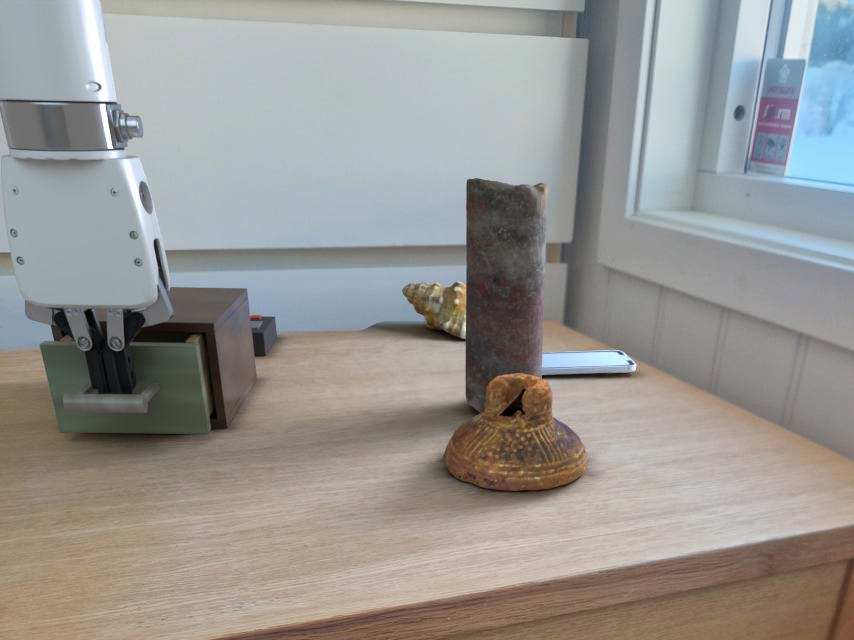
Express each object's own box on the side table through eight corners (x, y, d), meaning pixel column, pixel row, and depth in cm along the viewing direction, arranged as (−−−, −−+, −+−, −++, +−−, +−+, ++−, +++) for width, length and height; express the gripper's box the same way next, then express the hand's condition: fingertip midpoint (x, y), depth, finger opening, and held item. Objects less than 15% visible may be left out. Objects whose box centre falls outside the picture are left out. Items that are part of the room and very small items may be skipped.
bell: (616, 471, 72) (626, 382, 68) (509, 507, 65) (513, 410, 62) (518, 434, 80) (522, 352, 76) (413, 462, 73) (411, 374, 69)
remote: (265, 356, 101) (263, 329, 99) (228, 355, 100) (225, 329, 99) (277, 338, 108) (274, 313, 106) (242, 338, 108) (239, 313, 106)
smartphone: (493, 353, 101) (620, 349, 103) (493, 362, 101) (620, 358, 103) (503, 370, 95) (638, 365, 96) (503, 379, 95) (637, 374, 97)
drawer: (192, 457, 70) (178, 365, 66) (33, 456, 69) (9, 362, 66) (240, 386, 87) (231, 309, 83) (113, 384, 86) (97, 306, 83)
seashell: (425, 365, 111) (390, 288, 108) (439, 360, 118) (406, 288, 115) (491, 333, 108) (457, 253, 105) (501, 330, 115) (469, 255, 113)
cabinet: (227, 428, 79) (213, 322, 74) (72, 426, 78) (49, 320, 74) (257, 380, 92) (247, 288, 87) (125, 378, 92) (107, 285, 87)
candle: (451, 401, 87) (452, 175, 77) (515, 393, 90) (525, 174, 80) (486, 424, 82) (493, 182, 71) (554, 414, 85) (570, 181, 74)
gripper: (188, 133, 64) (221, 385, 74) (-23, 128, 63) (39, 384, 73) (161, 138, 58) (201, 413, 67) (-74, 132, 57) (1, 412, 67)
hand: (117, 397), depth 70 cm, fingers closed
